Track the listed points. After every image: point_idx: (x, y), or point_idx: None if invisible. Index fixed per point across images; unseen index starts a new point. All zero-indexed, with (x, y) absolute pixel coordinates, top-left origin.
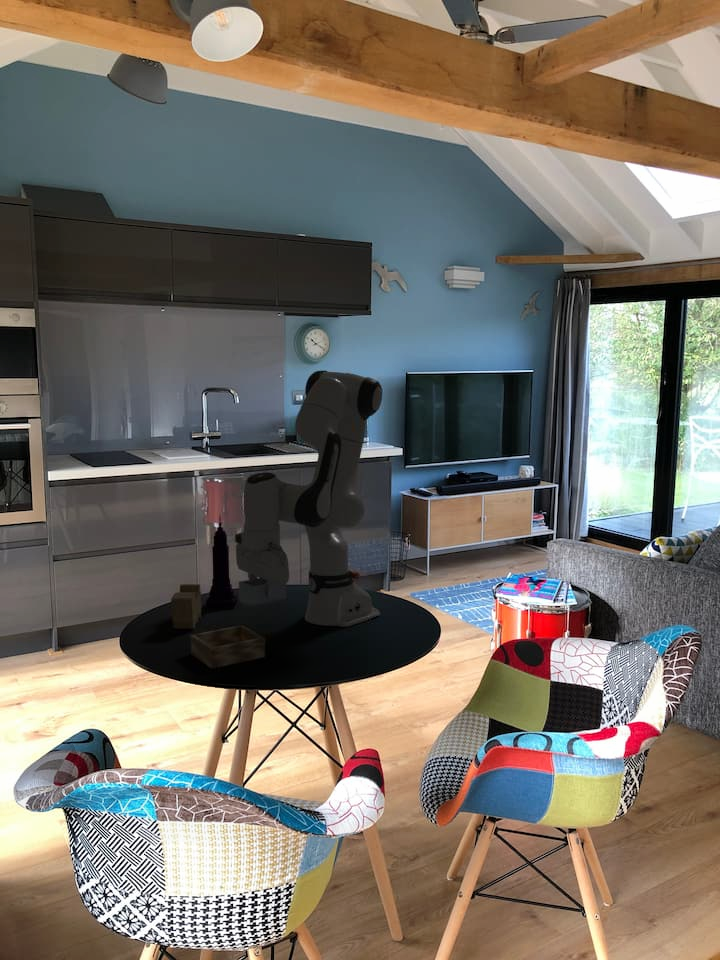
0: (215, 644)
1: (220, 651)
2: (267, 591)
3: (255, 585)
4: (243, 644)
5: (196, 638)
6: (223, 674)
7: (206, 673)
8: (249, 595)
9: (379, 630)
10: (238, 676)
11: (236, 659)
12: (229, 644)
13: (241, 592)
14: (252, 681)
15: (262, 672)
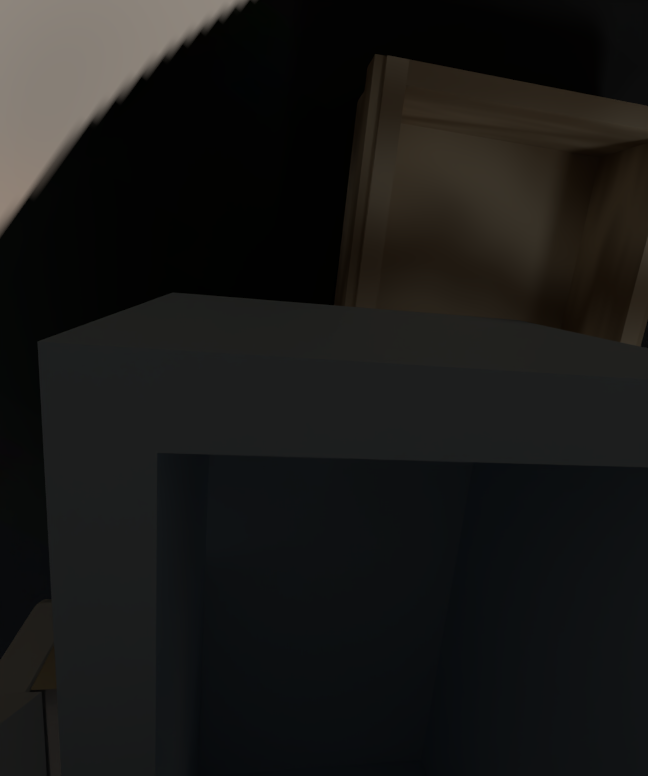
0: (580, 279)
1: (362, 128)
2: (24, 685)
3: (143, 578)
4: (345, 297)
5: (623, 108)
6: (247, 101)
7: (320, 33)
8: (195, 313)
9: None
10: (169, 148)
11: (343, 253)
12: (382, 210)
13: (529, 335)
14: (54, 164)
15: (142, 284)
